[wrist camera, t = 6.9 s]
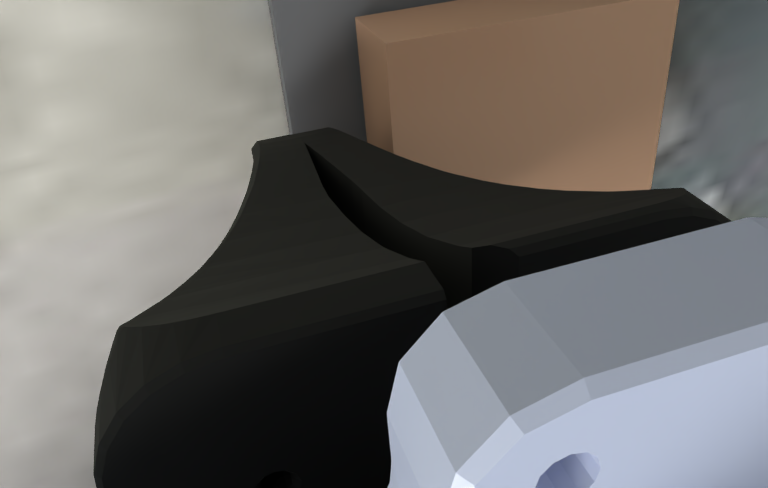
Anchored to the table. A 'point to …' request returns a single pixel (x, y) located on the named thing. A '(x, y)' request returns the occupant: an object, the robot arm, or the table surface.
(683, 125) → the table surface
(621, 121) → the tile
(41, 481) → the table surface
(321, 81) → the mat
